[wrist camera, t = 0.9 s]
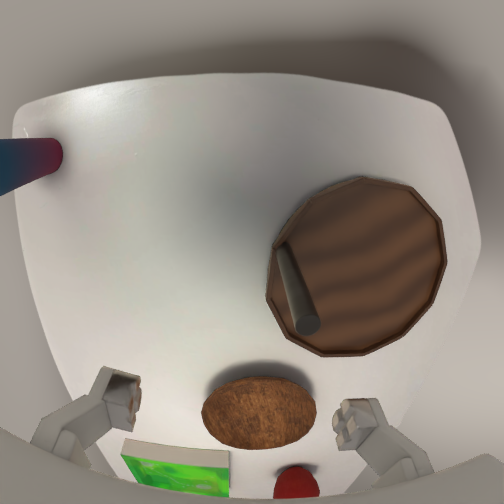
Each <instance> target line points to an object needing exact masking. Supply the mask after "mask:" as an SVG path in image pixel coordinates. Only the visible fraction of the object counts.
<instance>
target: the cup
mask: <svg viewBox="0 0 504 504" xmlns="http://www.w3.org/2000/svg"><path fill="white" fill-rule="evenodd" d="M62 157H63V152H62V147H61V145H60V143H59V142H58V141H57V140H56V139H53V138H21V139H0V196H2V195H4V194H6V193H8V192H10V191H12V190H14V189H16V188H19V187H21V186H23V185H25V184H27V183H30V182H32V181H34V180H36V179H39V178H41V177H43V176H46V175H48V174H51V173H53V172H55V171H56V170H57V169H58V168H59V166H60V164H61V162H62Z"/></svg>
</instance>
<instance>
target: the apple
mask: <svg viewBox="0 0 504 504" xmlns="http://www.w3.org/2000/svg"><path fill="white" fill-rule="evenodd" d="M319 494H320V490H319V487H318V484H317V481H316V480H315V478H314V477H313V476H312V474H311V473H310V472H309V471H308V470H306V469H304V468H302V467H299V466H296V467H291V468H289V469H287V470H285V471H284V472H283V473H282V474H280V475H279V476H278V478H277V481H276V484H275V487H274V494H273V499H291V498H309V497H319Z"/></svg>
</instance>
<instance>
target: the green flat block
mask: <svg viewBox="0 0 504 504" xmlns="http://www.w3.org/2000/svg"><path fill="white" fill-rule="evenodd" d="M121 456H122V458H123V459H124V461H125V463H126V464H127V466H128V467H129V469H130V471H131V472H132V474H133V475H134V477H135V478H136V480H137V481H138V483H140V484H144V485H148V486H153V487H157V488H162V489H167V490H173V491H179V492H185V493H192V494H199V495H207V496H217V497H229V451H221V450H205V449H193V448H183V447H175V446H167V445H160V444H153V443H147V442H141V441H136V440H131V439H126V438H125V441H124V444H123V447H122V451H121Z"/></svg>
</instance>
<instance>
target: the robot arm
mask: <svg viewBox="0 0 504 504" xmlns="http://www.w3.org/2000/svg"><path fill="white" fill-rule="evenodd" d="M140 383H141V379H140V376H138V375H134V374H130V373H127V372H123V371H120V370H116V369H113V368H109V367H106V366H103V367H102V368H101V369H100V371H99V373H98V376H97V378H96V380H95V382H94V384H93V386H92V388H91V390H90V393H89V395H83V396H81V397H80V398H78V399H76V400H74V401H73V402H71V403H69V404H67V405H66V406H64V407H62V408H61V409H58V410H57V411H55V412H53V413H51V414H49V415H48V416H46V417H44V418H42V419H41V421H40V423H39V425H38V427H37V429H36V431H35V433H34V435H33V437H32V440H31V442H30V443H28V442H26V441H24V440H22V439H20V438H18V437H17V436H15V435H13V434H11V433H10V432H8V431H6V430H4V429H3V428H1V427H0V504H504V464H503V463H502V462H501V461H499V460H498V459H496V458H495V457H493V456H492V455H489V454H482V455H479V456H477V457H475V458H473V459H470V460H468V461H465V462H463V463H460V464H458V465H455V466H453V467H450V468H447V469H445V470H441V471H438V472H436V473H435V472H434V470H433V468H432V465H431V463H430V460H429V458H428V456H427V454H426V452H425V451H424V450H422V449H421V448H420V447H419V446H417V445H416V444H415V443H413V442H412V441H411V440H410V439H408V438H407V437H406V436H404V435H403V434H402V433H400V432H399V431H398V430H397V429H395V428H394V427H393V426H392V425H391V426H389V425H388V422H387V420H386V417H385V415H384V413H383V410H382V408H381V405H380V403H379V401H378V399H376V398H366V399H365V398H360V399H345V400H343V401H342V402H341V404H340V405H341V408H340V409H338V410H336V412H335V413H334V415H333V419H332V426H333V430H334V431H335V432H336V433H337V434H338V435H337V437H336V442H337V446H338V450H339V451H345V450H356V451H357V452H358V454H359V455H360V456H361V457H362V458H363V459H364V460H365V461H366V462H367V463H368V465H370V467H371V468H372V469H373V470H374V471H375V472H376V473H377V474H378V475H379V476H380V477H379V478H378V479H377V480H376V481H375V482H373V484H372V489H370V490H365V491H359V492H353V493H347V494H339V495H330V496H321V497H309V498H291V499H246V498H229V497H217V496H207V495H199V494H192V493H185V492H179V491H173V490H167V489H162V488H157V487H153V486H148V485H144V484H140V483H136V482H132V481H128V480H124V479H121V478H117V477H114V476H110V475H107V474H104V473H101V472H98V471H95V470H92V469H90V467H91V463H90V461H89V460H88V458H87V456H86V454H85V452H84V450H86V449H87V448H88V447H89V446H91V445H92V444H93V443H94V442H96V441H97V440H98V439H99V438H101V437H102V436H103V435H104V434H105V433H107V432H108V431H109V430H110V429H112V427H113V428H117V429H121V430H125V431H129V432H133V428H134V425H135V421H136V415H135V413H136V412H137V411H139V407H140V403H141V395H142V392H141V388H140V387H139V386H140Z"/></svg>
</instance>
